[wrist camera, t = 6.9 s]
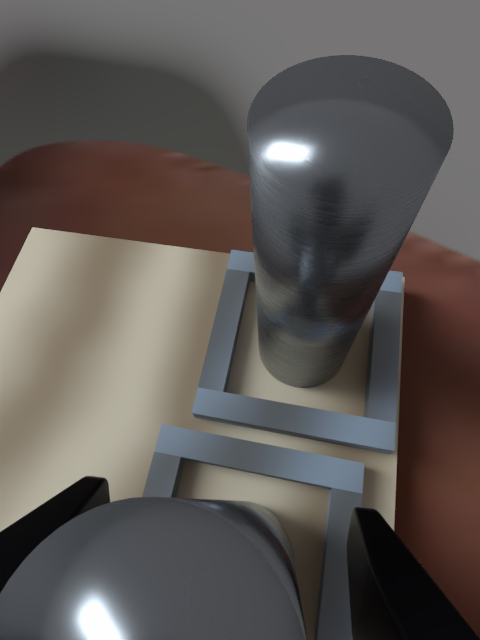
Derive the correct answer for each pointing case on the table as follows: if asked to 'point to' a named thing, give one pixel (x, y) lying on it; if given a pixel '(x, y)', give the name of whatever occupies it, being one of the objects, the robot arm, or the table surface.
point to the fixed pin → (334, 200)
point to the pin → (158, 576)
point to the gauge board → (191, 398)
